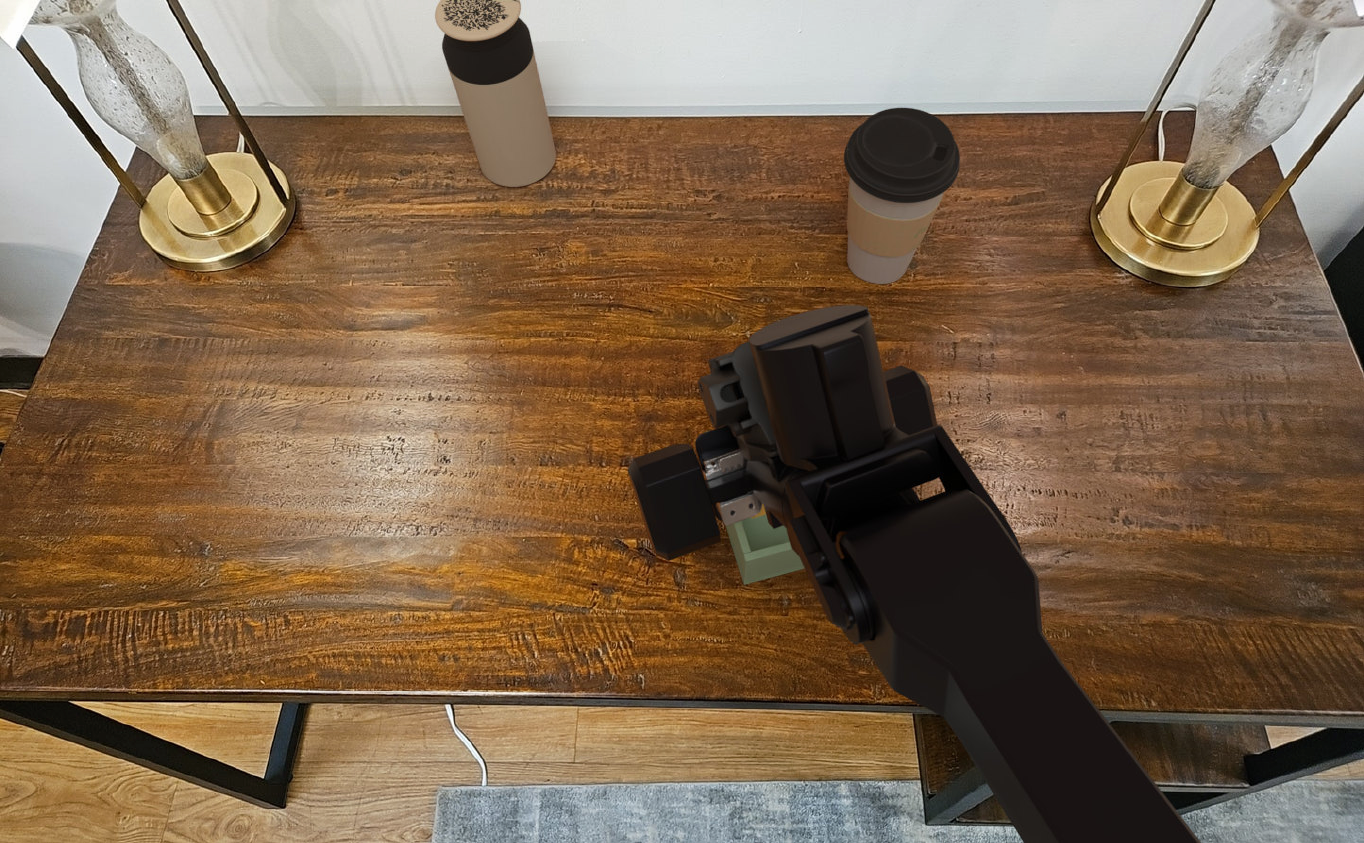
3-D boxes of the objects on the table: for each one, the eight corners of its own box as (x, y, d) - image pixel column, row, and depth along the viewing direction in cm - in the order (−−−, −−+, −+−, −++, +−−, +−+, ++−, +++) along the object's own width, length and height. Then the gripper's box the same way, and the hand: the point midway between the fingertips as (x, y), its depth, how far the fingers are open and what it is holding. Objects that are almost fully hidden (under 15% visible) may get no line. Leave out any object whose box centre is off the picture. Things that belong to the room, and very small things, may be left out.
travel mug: (518, 201, 90) (476, 51, 74) (464, 165, 93) (412, 14, 77) (572, 155, 93) (542, 2, 77) (518, 122, 95) (478, -33, 80)
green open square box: (877, 549, 71) (889, 522, 66) (743, 585, 70) (745, 561, 65) (831, 430, 76) (838, 397, 71) (705, 462, 75) (704, 431, 70)
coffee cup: (934, 296, 83) (976, 181, 69) (833, 302, 83) (855, 188, 70) (917, 219, 87) (953, 97, 74) (821, 224, 87) (839, 103, 74)
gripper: (964, 300, 46) (844, 275, 60) (621, 416, 43) (584, 361, 58) (1000, 493, 49) (878, 424, 64) (683, 612, 46) (633, 512, 61)
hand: (747, 427), depth 62 cm, fingers closed on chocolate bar, 3 cm apart
